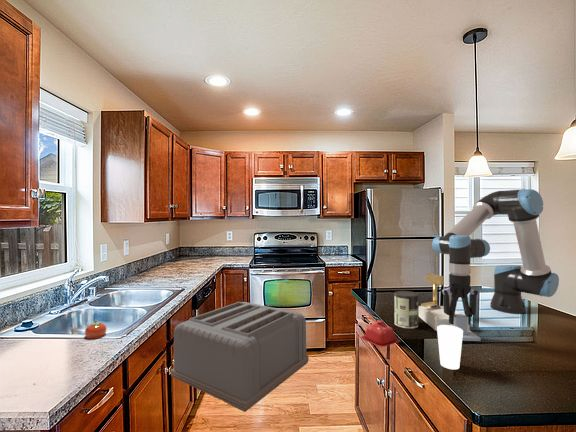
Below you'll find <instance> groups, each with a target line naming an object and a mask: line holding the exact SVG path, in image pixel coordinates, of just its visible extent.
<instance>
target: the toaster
mask: <svg viewBox="0 0 576 432" xmlns="http://www.w3.org/2000/svg"><path fill="white" fill-rule="evenodd" d="M309 359H310V358H309V355H307V319H306V318H305V316H304V315H303V314H302V313H300V312H297V311H296V312H295V311H293V310H292V311H291V310H286V309H282V308H278V307H277V308H276V307H272V306H266V305H261V304H257V303H252V302H246V301H237V302H235V303H231V304H228V305H226V306H222V307H219V308H217V309H214V310H211V311H207V312H205V313H202V314H199V315H197V316H193V317H191V318H189V319H188V320H184V321H182V322H181V323H178V324H177V325H176V326H175V328H174V331H173V368H171V369H170V375H171V377H172V378H174V379H176V380H178V381H180V382H182V383H184V384H186V385H187V386H188V385H189V386H190V387H192V388H195V389H197V390H199V391H201V392H203V393H204V394H207V395H209V396H211V397H213V398H216V399H218V400H220V401H222V402H224V403H226V404H228V405H229V406H232V407H233V408H236V409H238V410H239V411H242V412H244V413H246V412H247V411H249V410H250V409H251V408H252V407H254V406H255V405H256V404H257V403H258V402H260V401H261V400H263V399H264V398H265V397H266V396H268V395H269V394H270V393H271V392H273V391H275V389H276V388H278V387H279V386H280V385H281V384H283V383H285V381H286V380H288V379H289V378H291V377H292V376H293V375H294V374H296V373H297V372H298V371H299V370H301V369H302V368H303V367H304V366H306V365H307V364H308V363H309Z"/></svg>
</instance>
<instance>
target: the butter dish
mask: <svg viewBox="0 0 576 432" xmlns="http://www.w3.org/2000/svg"><path fill="white" fill-rule="evenodd" d="M375 322H376V323H373V324H370V325H369V326H367V328H366V330H365V335H362V336H360V337H359V338H360V339H361V340H363V341H365V342H368V343H369V344H372V345H374V346H375V347H376V346H377V347H378V348H386V347H388V346H391V345H394V344H398V343H400V342H401V340H400V339H399V338H397V337H396V335H395V332H394V328H393V327H391V326H389V325H388V324H386V323H384V320H380V319H378V320H376V321H375Z"/></svg>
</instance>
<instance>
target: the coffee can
mask: <svg viewBox="0 0 576 432" xmlns="http://www.w3.org/2000/svg"><path fill="white" fill-rule="evenodd" d="M393 295H394V303H393V304H394V314H393V315H394V323H393V324H394V325H395V326H397V327H398V328H403V329H409V330H410V329H411V330H412V329H417V328H418V327H419V293H417V292H414V291H411V290H409V291H408V290H397V291H394V293H393Z"/></svg>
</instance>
